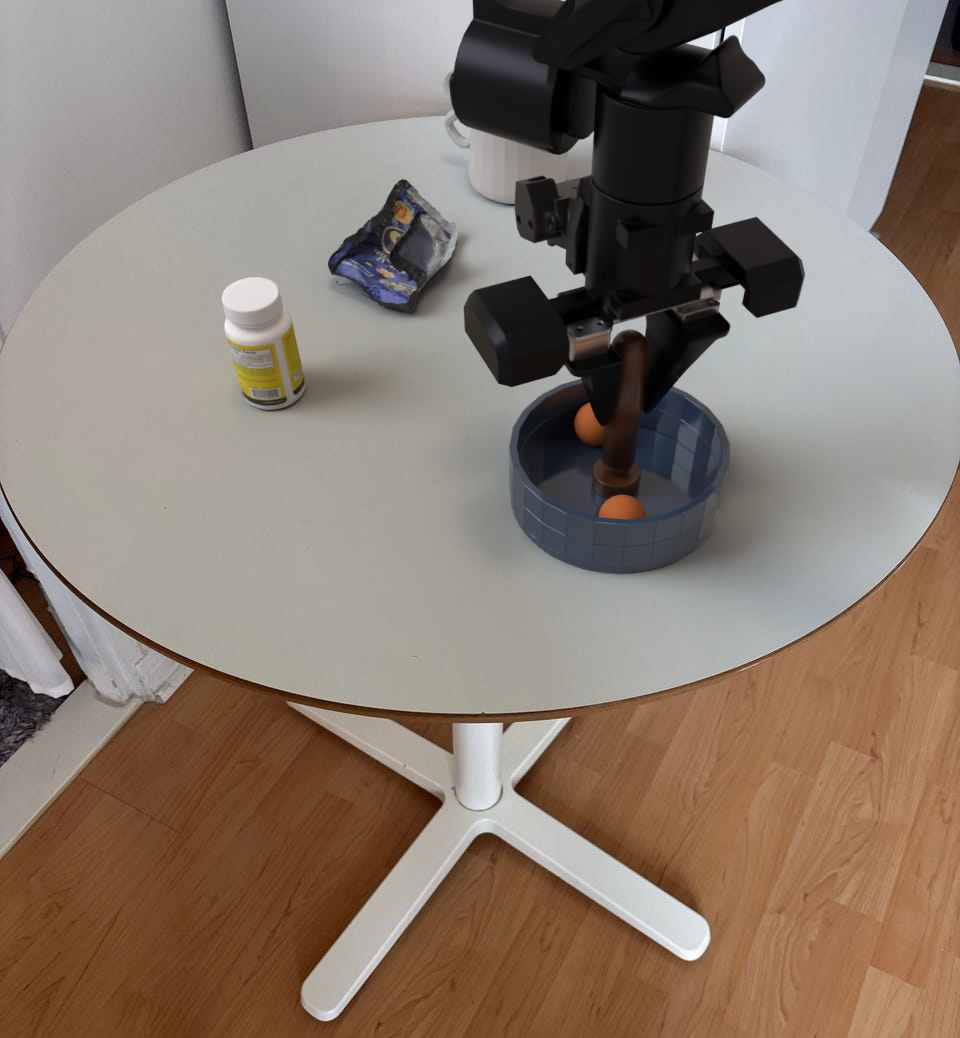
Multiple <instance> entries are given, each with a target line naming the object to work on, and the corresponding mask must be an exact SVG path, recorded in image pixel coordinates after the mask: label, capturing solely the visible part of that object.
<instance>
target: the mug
mask: <svg viewBox="0 0 960 1038" xmlns="http://www.w3.org/2000/svg"><path fill="white" fill-rule="evenodd" d="M454 66H455V62H454V63H453V64H450V65H449V66H447V67H446V69H445V71H444V73H442V81H441V84H442V87H443V90H444V92H445V94H446V96H447V97H448V99H449V100H450V101H451V97H450V76H451V74H452V73H453V72H454ZM443 118H444V119H443V127H444V129H445V132H446V134H447V136H448V137H449V138H450V139H451V141H452V142H453V143H454V144H455V145H456V146H458V147H459V148H460V149H466V150H467V149H468V150H469V152H468V153H469V155H468V168H467V172H468V178H469V183H470V185H471V187H472V188H473V189H474V190H475V191H476V192H477V193H478V194H480V195H481V196H483V197H484V198H486V199H488V200H491V201H492V202H497V203H501V204H507V205H508V204H509V205H515V186H516V181H520V180H524V179H529V178H533V177H537V176H541V175H542V176H545V177H546V179H547V178H552V179H554V180H555V183H560V182H564V181H567V178H568V173H569V157H568V152H566V153H564V154H561V155H555V154H551V153H548V152H545V151H542V150H538V149H535V148H532V147H529V146H526V145H523V144H520V143H517V142H513V141H510V140H507V139H504V138H501V137H498V136H495V135H491V134H488V133H485V132H482V131H479V130H476V129H473V128H470V135H469V136H468V137H465V136H463V135H462V134H461V133H460V132H459V130H457V128H456V126H455V123H454V122H456V121H457V120H458V118H457V117H456V115H455V113H454V110H453V108H452V109H450V110H449V111H448V112H447V113H446V115H445V116H444V117H443Z"/></svg>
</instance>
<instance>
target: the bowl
mask: <svg viewBox="0 0 960 1038" xmlns="http://www.w3.org/2000/svg"><path fill="white" fill-rule="evenodd" d="M587 403H589V400H588V397H587V394H586V391H585V388H584V385H583V383H582V380H581V378H578V379H575V380H571V381H568V382H564V383H561V384H559V385H557V386H555V387H553V388H551V389H549V390H547V391H545V392H543V393H541V394H540V395H539V396H537V397H536V398H535V399H534V400H533V401H531V402H530V404H528V405H527V406H526V407H525V408H524V409H523V410H522V411H521V413H520V415H519V417H518V418H517V419H516V422H515V423H514V424H513V426H512V430H511V435H510V438H509V439H510V441H509V444H508V461H509V462H508V463H509V465H508V467H509V469H508V470H509V473H508V475H509V480H508V481H509V494H510V504H511V508H512V509H511V510H512V513H513V516H514V518H515V521H516V522H517V524H518V526H519V527H520V528H521V530H522V531H523V533H524V534H525V536H527V537H528V538H529V540H530V541H531V542H532V543H533V544H535V545H536V546H537V547H538V548H539V549H540V550H542V551H543V552H545V553H546V554H548V555H550V556H551V557H553V558H555V559H557V560H559V561H561V562H562V563H563V562H564V563H566V564H568V565H571V566H574V567H576V568H581V569H584V570H588V571H594V572H601V573H609V574H628V573H630V574H631V573H639V572H645V571H646V572H647V571H651V570H656V569H658V568H662V567H664V566H667V565H669V564H672V563H675V562H677V561H679V560H680V559H682V558H685V557H686V556H687V555H689V554H690V553H692V552H693V551H694V550H696V549H697V548H698V547H699V546H700V545H701V544H702V543H703V542H704V541H705V540H706V538H707V537H708V536H709V534H710V533H711V531H712V529H713V528H714V526H715V524H716V522H717V518H718V515H719V512H720V509H721V505H722V501H723V497H724V492H725V488H726V482H727V479H728V473H729V470H730V465H731V443H730V441H729V438H728V435H727V432H726V430H725V428H724V425H723V424H722V422H721V421H720V419H718V417H717V416H716V415H715V414H714V412H713V411H712V410H711V409H710V407H708V406H707V405H706V404H704V403H703V402H701V400H699V399H697V398H696V397H695V396H693V395H692V394H691V393H689V392H687V391H685V390H682V389H680V388H678V387H676V386H675V385H673V387H672V388H671V389H670V390H669V391H668V393H667V394H666V395H665V396H664V397H663V399H662V400H661V401H660V402H659V403H658V404H657V406H656V407H655V408H654V409H653V410H652V412H650V413H647V414H645V413H644V412H643V411H642V409H641V413H640V421H639V430H638V438H637V446H636V455H635V461H636V462H637V463H638V464H639V466H640V469H641V476H640V484H639V488H638V490H637V491H636V492H635V493H634V494H633V495H632V497H634V498H635V499H637V500H638V501H639V502H640V503H641V504H642V506H643V508H644V510H645V513H646V517H645V518H636V519H615V518H603V517H598V516H599V511H600V509H601V507H602V505H603V504H604V503H605V502H606V501H607V500H608V499H609V498H606V497H603V496H601V495H600V494H598V493H597V492H596V491H595V489H594V488H593V485H592V472H593V466H594V464H595V463H596V461H597V460H599V459H600V458H601V455H602V445H599V446H593V445H588V444H586V443H584V442H583V441H582V440H581V439H580V438H579V437H578V436H577V434H576V431H575V428H574V420H575V416H576V414H577V412H578V411H579V409H580V408H581V407H582V406H584V405H585V404H587Z"/></svg>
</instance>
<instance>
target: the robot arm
mask: <svg viewBox="0 0 960 1038" xmlns="http://www.w3.org/2000/svg"><path fill="white" fill-rule="evenodd" d="M783 1H784V0H472V20H471V21H470V23H469V24H468V26H467V28H466V30H465V31H464V33H463V36H462V38H461V41H460V43H459V46H458V49H457V53H456V56H455V61H454V63H455V66H454V72H453V73H452V74H451V76H450V97H451V100H450V102H451V103H450V104H451V106H452V109H453V110H454V113H455V115H456V117H457V118H458V119H457V120H458V121H459V123H461V124H462V125H463V126H465V127H466V128H470V129H471V128H473V129H476V130H479V131H482V132H485V133H488V134H491V135H495V136H498V137H501V138H504V139H507V140H510V141H513V142H517V143H520V144H523V145H526V146H529V147H532V148H535V149H538V150H542V151H545V152H548V153H551V154H555V155H561V154H564V153H566V152H567V153H568V152H569V151H571V149H573V148H574V147H575V145H576V144H578V142H579V141H580V140H585V139H587V138H589V137H590V136H591V135H592V134H593V137H592V138H593V139H592V140H593V141H592V156H591V173H590V174H589V175H585V176H582V177H577V178H573V179H569V180H566V181H564V182H560V183H555V180H554V179H552V178H547V179H546V177H545V176H542V175H541V176H537V177H533V178H529V179H524V180H520V181H516V186H515V204H514V214H515V222H516V223H515V224H516V230H517V232H518V234H519V237H520V238H521V239H524V240H526V241H528V242H530V243H532V244H538V243H541V242H545V241H546V244H547V246H549V247H555V246H557V247H559V248H561V249H563V250H565V261H564V262H565V264H564V265H565V266H566V267H567V269H568V270H569V271H570V272H571V274H573V275H574V276H576V275H580V274H582V275H583V277H584V285H583V286H579V287H576V288H572V289H569V290H565V291H561V292H558V293H557V294H556V297H551V298H548V297H547V295H546V293H544V291H543V290H542V288H541V287H540V285H539V284H538V283H537V281H535V279H534V278H533V277H532V275H527V276H523V277H518V278H515V279H510V280H507V281H503V282H500V283H496V284H492V285H488V286H487V285H486V286H483V287H480V288H476V289H474V290H472V292H470V294H469V295H468V297H467V299H466V301H465V303H464V305H463V322H464V323H463V324H464V333H465V334H466V335H467V337H468V338H469V340H470V342H471V343H472V345H473V347H474V348H475V349H476V351H477V353H478V354H479V356H480V357H481V359H482V361H483V363H485V365H486V367H487V369H488V370H489V371H490V373H491V375H492V376H493V378H494V379H495V381H496V383H497V385H501V386H505V387H509V388H514V387H519V386H521V385H524V384H528V383H533V382H535V381H540V380H542V379H546V378H550V377H553V376H556V375H557V374H558V373H559V372H560V371H561V369H562V368H564V366H565V368H566V369H567V371H568V372H569V373H570V375H572V376H573V377H575V378H580V379H581V380H582V383H583V385H584V388H585V391H586V394H587V397H588V400H589V402H590V405H591V408H592V411H593V414H594V416H595V418H596V420H597V421H598V423H599V424H600V425H601V426H602V427H603V426H606V425H608V422H609V420H610V417H611V415H612V412H613V408H614V403H615V398H616V393H617V389H618V384H619V380H620V375H621V370H622V365H623V359H622V358H621V357H620V355H619V354H618V353H617V352H616V350H615V349H614V348H613V346H612V345H611V339H612V338H611V337H612V331H613V328H614V326H615V325H618V324H621V323H625V322H628V321H633V320H637V319H640V318H642V317H645V321H646V323H645V333H644V337H645V338H646V340H647V343H648V355H647V363H646V371H645V380H644V388H643V396H642V405H641V409H642V411H643V412H644V413H645V414H647V413H650V412H652V410H653V409H654V408H655V407H656V406H657V404H658V403H659V402H660V401H661V400H662V399H663V397H664V396H665V395H666V394H667V393H668V391H669V390H670V389H671V388H672V387H673V386H675V384H676V383H677V382H678V381H679V379H681V377H682V376H684V374H685V373H686V372H687V371H688V370H689V369H690V367H691V366H692V365H694V363H696V361H697V360H698V359H699V358H701V357H702V355H703V354H705V352H706V351H707V350H708V349H709V348H710V347H711V346H712V345H713V344H714V343H715V342H716V341H718V340H720V339H723V338H725V337H727V336H728V335H729V333H730V331H731V323H730V322H729V321H728V320H727V319H726V317H725V316H724V315H722V313H721V312H720V307H721V302H720V300H721V297H722V293H723V290H725V289H726V290H727V289H730V288H733V287H736V286H741V288H742V289H743V291H744V292H743V297H742V302H741V305H742V306H743V307H744V308H745V310H746V311H748V312H749V313H750V314H751V315H752V316H754V318H756V319H759V318H763V317H767V316H769V315H773V314H777V313H780V312H784V311H788V310H791V309H794V308H797V305H798V303H799V300H800V298H801V293H802V289H803V285H804V281H805V277H806V272H805V268H804V263H803V260H802V258H801V257H799V256H798V254H796V252H795V251H794V250H792V248H790V247H789V245H787V243H785V242H784V241H783V240H782V239H781V238H780V237H779V236H778V235H777V234H776V233H775V232H773V230H772V229H770V227H768V226H767V225H766V224H765V222H763V221H762V220H761V219H760V218H759V217H758V216H754V217H750V218H746V219H741V220H738V221H735V222H731V223H730V222H729V223H726V224H723V225H719V226H715V227H713V224H714V223H713V222H714V217H715V210H714V209H713V208H712V206H710V205H709V204H708V203H707V202H706V201H705V200H704V199H703V193H704V187H705V180H706V173H707V167H708V159H709V154H710V146H711V140H712V134H713V127H714V121H715V117H718V118H721V119H729V118H732V117H733V116H734V115H735V114H736V113H737V112H738V111H739V110H741V108H742V107H743V106H745V105H746V104H747V103H748V102H749V101H750V100H751V99H752V98H753V97H755V96H756V95H757V93H758V92H760V91H761V90H762V89H763V88H764V87H765V85H766V76H765V74H764V73H763V72H762V71H761V70H760V68H759V66H758V65H757V63H756V62H755V61H754V60H753V59H751V58H750V56H748V54H746V52H745V51H744V49H743V47H742V45H741V42H740V39H739V37H738V36H737V35H735V34H731V35H729V36H728V37H727V38H725V39H724V40H723V41H721V42H720V43H719V44H718V45H717V46H716V47H714V48H712V49H711V48H706V47H702V46H698V45H695V44H691V43H690V42H693V41H696V40H699V39H700V38H703V37H706V36H708V35H711V34H714V33H716V32H719V31H720V30H723V29H725V28H727V27H729V26H731V25H734V24H736V23H737V22H740V21H742V20H744V19H745V18H747V17H749V16H751V15H754V14H756V13H758V12H760V11H762V10H764V9H766V8H768V7H771V6H773V5H775V4H778V3H780V2H783Z"/></svg>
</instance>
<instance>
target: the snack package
mask: <svg viewBox="0 0 960 1038" xmlns="http://www.w3.org/2000/svg"><path fill="white" fill-rule="evenodd" d="M458 238H459V228H458V227H457V225H456V223H454V222H450V221H448V220H447V219H445V217H443V215H442V214H441V211H439V210H438V209H436V207H435V206H433V205H432V204H431V203H430V202H429V201H427V200H426V199H425V198H424V197H423V196H422V195H420V192H419V191H418V189H416V187H415V186H414V185H412V184H411V183H410V181H408V180H407V179H404V178H402V179H399V180H398V181H397V182H396V183H395V184H394V185H393V187H392V189H391V190H390V192H389V194H388V196H387V197H386V201H385V203H384V205H382V207H381V208H380V210H379V211H378V212H377V214H375V215H373V216H372V217H370V219H368V220H367V221H366V222H365V223H364V224H363V226H362V227H359V228H358V229H357V231H356V232H355V233H353V234H350V235H349V236H348V237H346V238H345V239H343V241H342V243H341V244H340V246H338V248H337V249H336V250H335V251H333V253H332V254H331V256H330V257H329V259H328V262H327V266H328V271H329V272H330V274H331V275H332V276H337V277H340V278H343V279H344V278H345V279H346V280H348V281H350V282H352V283H354V284H355V285H357V286H358V287H359V288H360V289H361V290H363V292H365V293H366V294H367V295H368V296H367V298H366V299H369V298H370V300H371V301H374V302H377V304H378V305H379V307H384V308H386V309H387V308H388V309H395V310H400V311H401V312H404V313H408V314H409V313H412V311H413V310H414V308H415V307H416V304H417V302H418V299H419V294H420V292H421V290H422V289H423V288H424V287H425V285H426V284H427V282H428V281H430V280H431V279H432V277H433V276H434V275H435V274H436V273H437V272H438V271H440V269H442V267H444V266H445V265H446V264H447V263H448V261H449V260H450V258H452V257H453V253H454V251H455V249H456V244H457V241H458ZM335 283H336V284H339V283H340V282H339V281H337V280H335ZM360 294H361V295H363V296H364V297H366V295H365V294H363V293H360Z"/></svg>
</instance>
